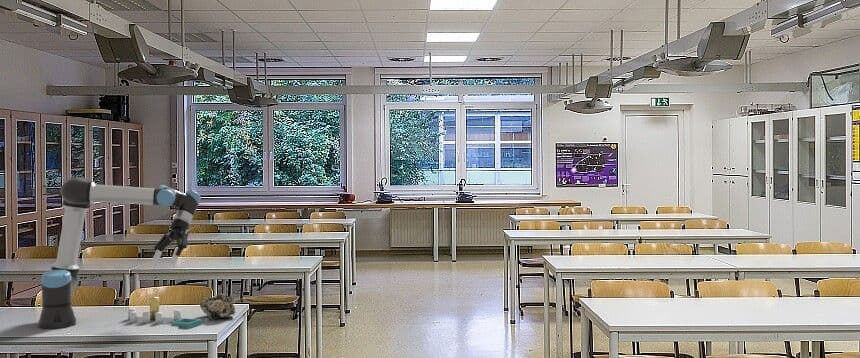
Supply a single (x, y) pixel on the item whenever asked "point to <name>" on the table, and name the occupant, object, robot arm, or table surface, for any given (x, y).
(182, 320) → the tray
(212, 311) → the mineral specimen
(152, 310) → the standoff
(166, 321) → the board
